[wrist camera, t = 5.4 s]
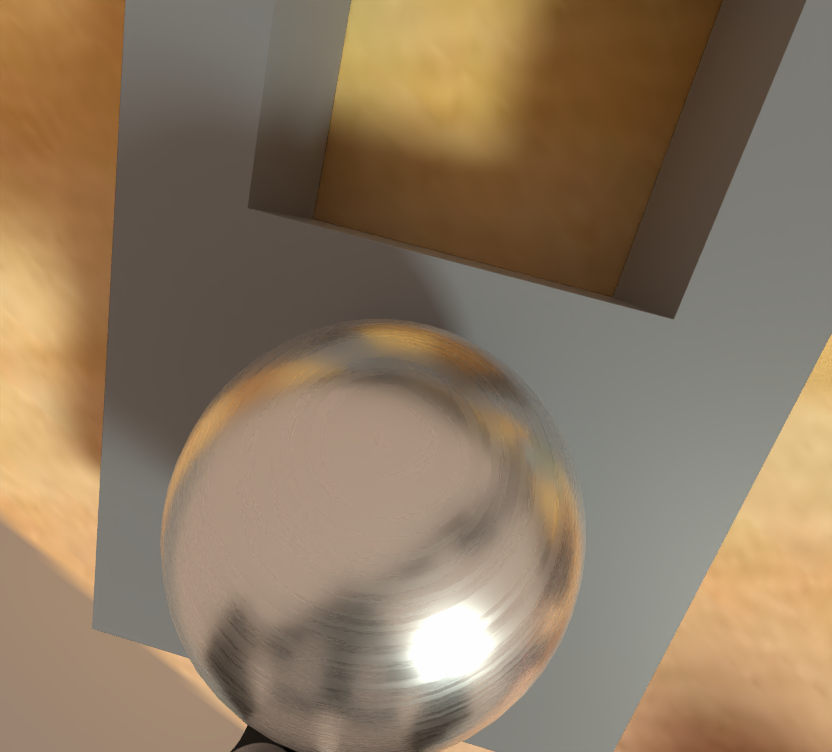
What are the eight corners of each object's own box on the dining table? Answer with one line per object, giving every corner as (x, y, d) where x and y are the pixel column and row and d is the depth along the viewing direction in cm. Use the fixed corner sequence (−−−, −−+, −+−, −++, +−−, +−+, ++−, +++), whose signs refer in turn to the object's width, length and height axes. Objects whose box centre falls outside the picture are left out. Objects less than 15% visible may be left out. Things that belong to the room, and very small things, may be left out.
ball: (297, 392, 12) (239, 183, 6) (535, 459, 11) (675, 292, 6) (170, 670, 8) (-139, 694, 3) (492, 774, 8) (703, 982, 3)
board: (567, 653, 16) (597, 782, 12) (180, 539, 17) (92, 628, 13) (924, -156, 10) (1224, -421, 6) (275, -295, 10) (158, -622, 6)
